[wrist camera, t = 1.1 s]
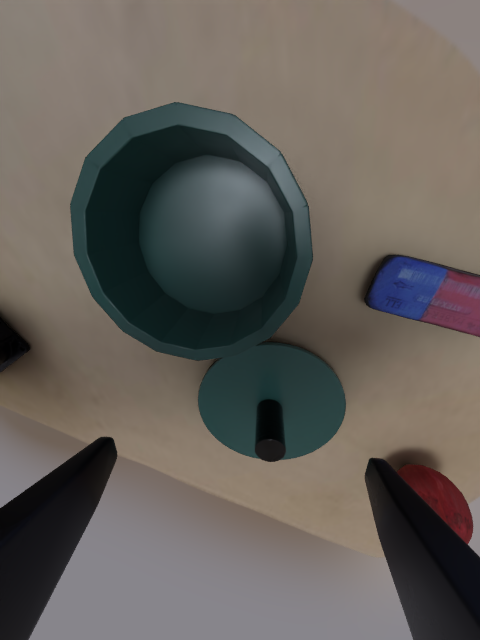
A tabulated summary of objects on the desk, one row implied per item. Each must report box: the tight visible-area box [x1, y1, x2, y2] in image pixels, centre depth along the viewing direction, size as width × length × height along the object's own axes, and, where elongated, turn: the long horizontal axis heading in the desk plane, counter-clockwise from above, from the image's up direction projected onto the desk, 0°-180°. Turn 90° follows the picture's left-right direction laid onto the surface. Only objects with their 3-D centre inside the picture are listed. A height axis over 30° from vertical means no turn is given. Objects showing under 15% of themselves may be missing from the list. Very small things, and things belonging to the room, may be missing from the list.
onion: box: [397, 464, 473, 545], centre depth 22 cm, size 6×6×8 cm
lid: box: [198, 342, 346, 462], centre depth 22 cm, size 14×14×6 cm
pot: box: [70, 102, 313, 361], centre depth 16 cm, size 13×13×6 cm
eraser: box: [364, 255, 480, 337], centre depth 18 cm, size 11×4×2 cm, turn 76°
